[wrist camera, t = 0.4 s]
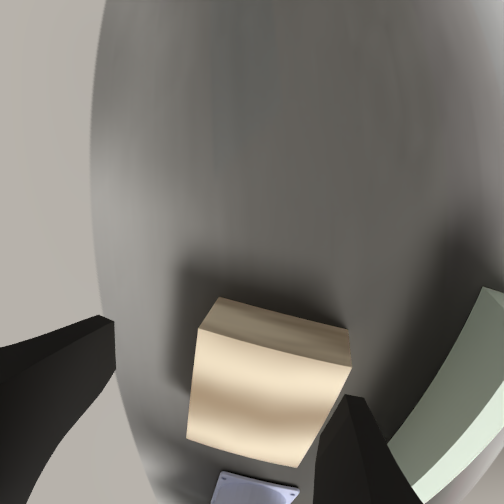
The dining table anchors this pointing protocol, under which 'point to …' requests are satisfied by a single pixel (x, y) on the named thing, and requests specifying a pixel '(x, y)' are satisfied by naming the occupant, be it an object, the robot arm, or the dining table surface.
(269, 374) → the maple block
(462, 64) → the dining table surface
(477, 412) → the sage board
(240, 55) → the dining table surface
